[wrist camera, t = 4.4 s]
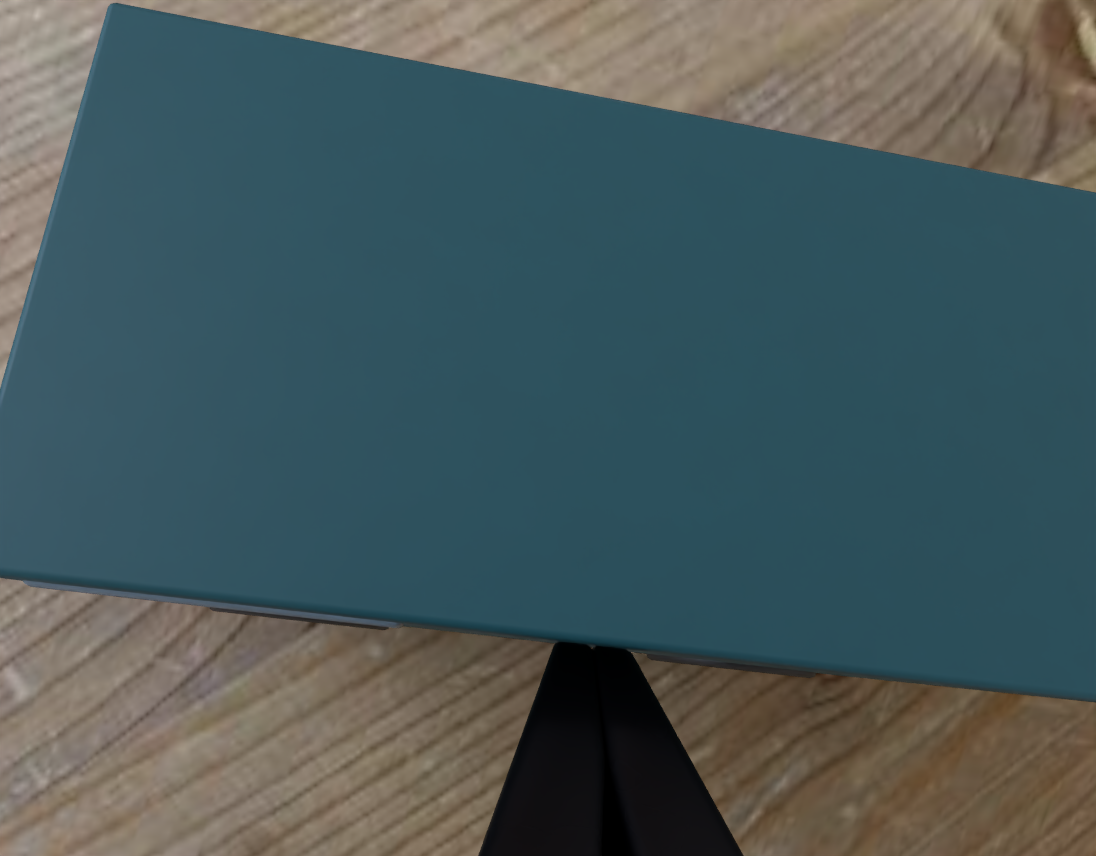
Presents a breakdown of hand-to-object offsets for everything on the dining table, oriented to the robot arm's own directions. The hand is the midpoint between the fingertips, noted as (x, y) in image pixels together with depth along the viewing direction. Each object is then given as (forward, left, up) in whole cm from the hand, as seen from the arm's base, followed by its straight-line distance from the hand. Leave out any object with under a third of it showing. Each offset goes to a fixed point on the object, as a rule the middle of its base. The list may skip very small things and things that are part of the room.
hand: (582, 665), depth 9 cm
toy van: (+2, -1, -7) cm, 8 cm away
